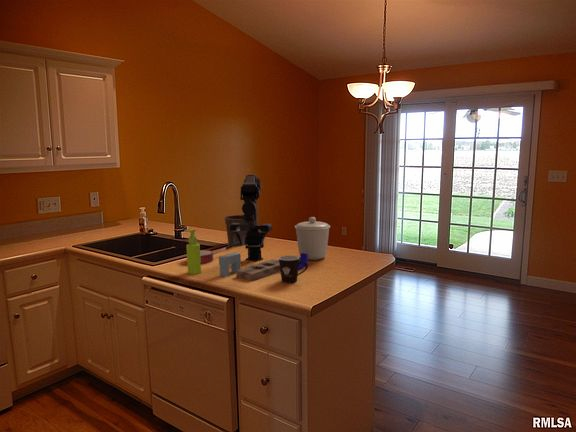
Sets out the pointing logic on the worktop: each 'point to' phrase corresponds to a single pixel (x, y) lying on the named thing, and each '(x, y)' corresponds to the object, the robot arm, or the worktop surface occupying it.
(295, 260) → the coffee mug
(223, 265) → the grey channel block
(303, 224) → the canister
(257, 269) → the rail
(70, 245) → the worktop surface
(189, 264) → the soap dispenser
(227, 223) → the plant pot
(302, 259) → the cable clip
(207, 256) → the frying pan
